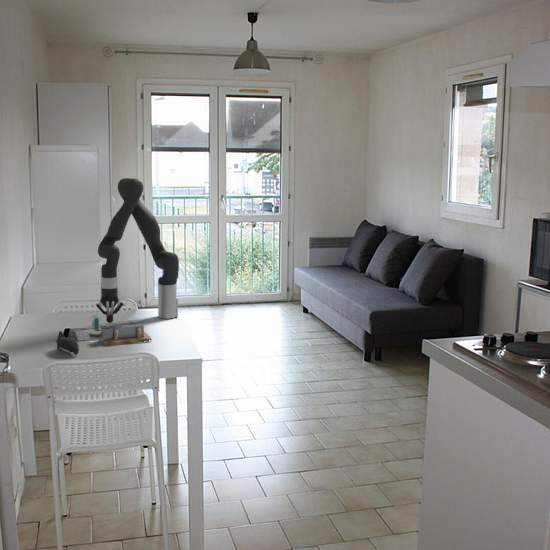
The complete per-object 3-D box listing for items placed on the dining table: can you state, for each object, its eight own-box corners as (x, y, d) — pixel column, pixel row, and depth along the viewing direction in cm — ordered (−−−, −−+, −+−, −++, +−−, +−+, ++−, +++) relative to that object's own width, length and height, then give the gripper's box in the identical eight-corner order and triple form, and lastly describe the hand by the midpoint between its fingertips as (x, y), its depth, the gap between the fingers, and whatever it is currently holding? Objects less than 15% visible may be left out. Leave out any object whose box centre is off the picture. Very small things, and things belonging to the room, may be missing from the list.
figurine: (53, 356, 297) (68, 358, 286) (50, 332, 297) (65, 333, 285) (69, 353, 302) (85, 355, 291) (67, 329, 302) (82, 330, 290)
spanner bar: (141, 334, 319) (141, 323, 318) (144, 337, 314) (144, 326, 313) (101, 337, 312) (100, 326, 311) (103, 340, 307) (102, 329, 306)
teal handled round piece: (103, 326, 333) (102, 314, 332) (108, 334, 320) (108, 321, 319) (85, 328, 330) (85, 315, 328) (90, 336, 317) (90, 323, 316)
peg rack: (145, 335, 323) (145, 323, 322) (151, 341, 313) (151, 329, 312) (101, 339, 315) (100, 326, 314) (105, 345, 305) (105, 332, 304)
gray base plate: (105, 328, 333) (105, 327, 333) (112, 338, 317) (112, 337, 317) (72, 330, 327) (72, 330, 327) (78, 341, 311) (78, 340, 311)
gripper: (96, 288, 322) (96, 325, 325) (125, 287, 327) (125, 323, 330) (93, 285, 329) (94, 321, 332) (121, 284, 334) (122, 319, 337)
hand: (109, 322), depth 331 cm, fingers closed
